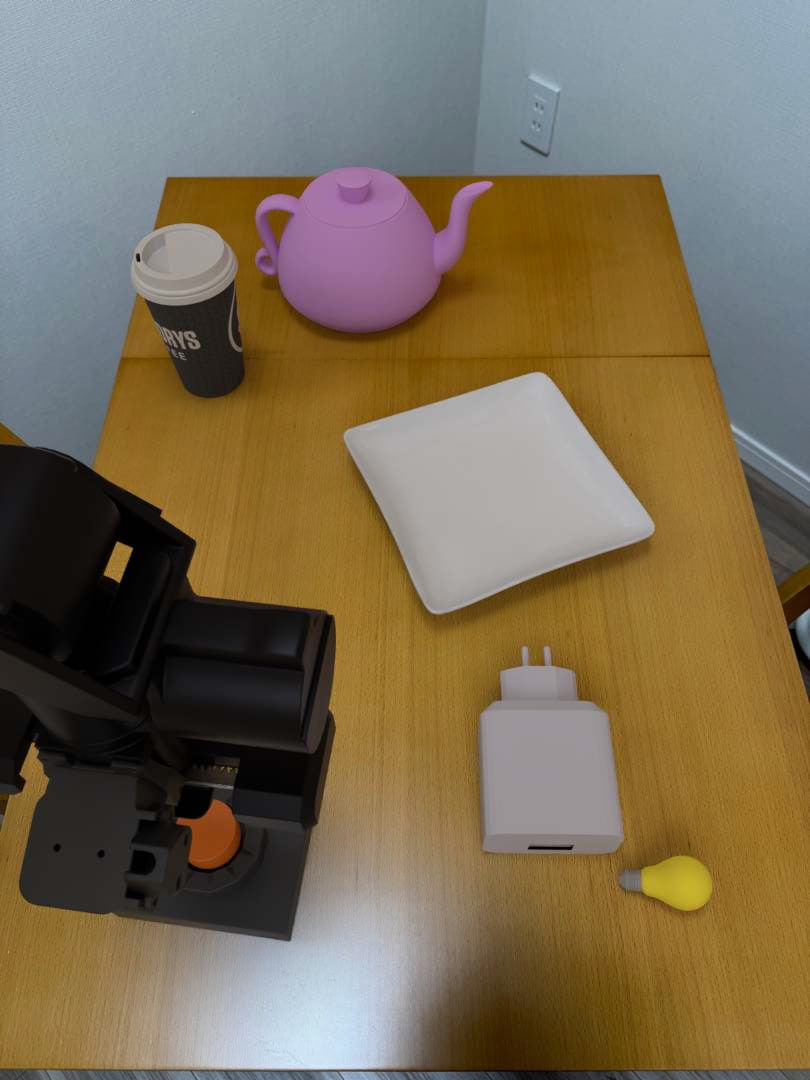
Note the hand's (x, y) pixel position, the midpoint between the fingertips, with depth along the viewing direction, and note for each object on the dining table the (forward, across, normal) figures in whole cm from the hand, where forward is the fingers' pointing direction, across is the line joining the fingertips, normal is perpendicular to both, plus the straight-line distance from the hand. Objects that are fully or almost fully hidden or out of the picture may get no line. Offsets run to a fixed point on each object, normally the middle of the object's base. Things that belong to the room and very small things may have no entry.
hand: (182, 797), depth 50 cm
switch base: (+12, 0, 0) cm, 12 cm away
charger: (+12, +22, +10) cm, 27 cm away
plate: (+12, +16, +33) cm, 39 cm away
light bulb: (+12, +30, +2) cm, 33 cm away
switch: (+8, 0, 0) cm, 8 cm away
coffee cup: (+12, -13, +46) cm, 49 cm away
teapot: (+12, +1, +61) cm, 62 cm away
